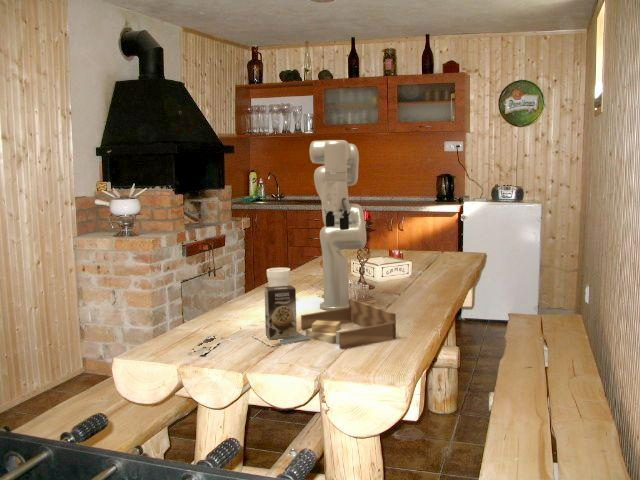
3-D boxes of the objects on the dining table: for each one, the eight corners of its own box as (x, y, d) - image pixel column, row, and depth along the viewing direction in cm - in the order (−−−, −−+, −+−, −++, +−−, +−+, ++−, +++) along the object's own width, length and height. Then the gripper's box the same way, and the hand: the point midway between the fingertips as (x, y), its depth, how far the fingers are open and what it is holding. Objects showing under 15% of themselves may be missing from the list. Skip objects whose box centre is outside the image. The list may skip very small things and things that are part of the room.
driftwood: (210, 338, 213) (210, 331, 213) (230, 338, 212) (229, 332, 212) (184, 358, 193) (183, 351, 193) (205, 359, 192) (204, 352, 192)
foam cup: (264, 300, 263) (263, 268, 261) (285, 298, 266) (284, 266, 265) (272, 305, 254) (271, 272, 252) (294, 302, 258) (293, 270, 256)
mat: (252, 336, 212) (252, 335, 212) (290, 329, 218) (290, 328, 218) (270, 347, 199) (270, 345, 199) (310, 339, 206) (310, 338, 206)
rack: (301, 329, 218) (300, 306, 217) (352, 320, 228) (351, 298, 226) (341, 349, 195) (340, 323, 194) (395, 338, 205) (395, 313, 204)
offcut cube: (336, 344, 201) (335, 331, 201) (344, 341, 204) (344, 328, 203) (345, 346, 198) (345, 333, 198) (354, 343, 201) (354, 330, 201)
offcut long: (306, 338, 209) (305, 329, 209) (319, 334, 214) (319, 325, 213) (333, 345, 201) (333, 336, 201) (346, 341, 205) (346, 331, 205)
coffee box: (269, 340, 205) (267, 290, 202) (265, 335, 211) (263, 286, 209) (297, 337, 207) (296, 288, 205) (292, 332, 213) (291, 284, 211)
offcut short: (311, 332, 206) (311, 324, 205) (316, 327, 211) (316, 320, 210) (336, 333, 203) (335, 325, 203) (340, 329, 208) (340, 321, 208)
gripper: (314, 177, 225) (315, 226, 228) (339, 179, 210) (340, 231, 213) (333, 176, 229) (334, 224, 231) (358, 178, 213) (359, 229, 216)
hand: (337, 228), depth 222 cm, fingers open, 9 cm apart
